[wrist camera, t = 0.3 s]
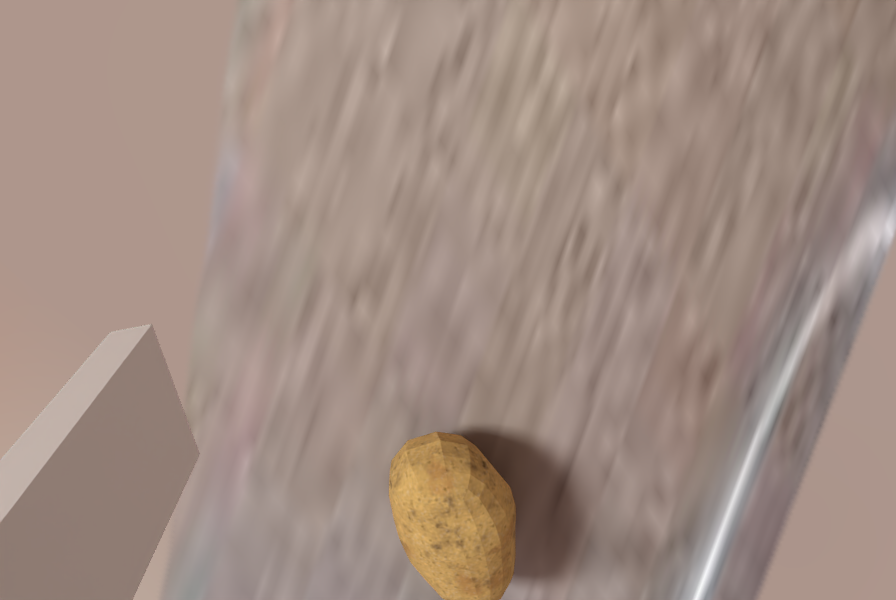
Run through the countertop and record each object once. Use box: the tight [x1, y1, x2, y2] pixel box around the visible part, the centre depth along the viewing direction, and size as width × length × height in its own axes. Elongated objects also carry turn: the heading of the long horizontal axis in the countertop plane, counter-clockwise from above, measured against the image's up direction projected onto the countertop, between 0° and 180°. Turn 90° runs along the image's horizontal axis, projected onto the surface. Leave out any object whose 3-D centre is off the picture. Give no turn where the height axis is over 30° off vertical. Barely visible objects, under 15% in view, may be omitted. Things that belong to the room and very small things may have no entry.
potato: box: [389, 432, 516, 600], centre depth 45 cm, size 7×11×6 cm, turn 13°
